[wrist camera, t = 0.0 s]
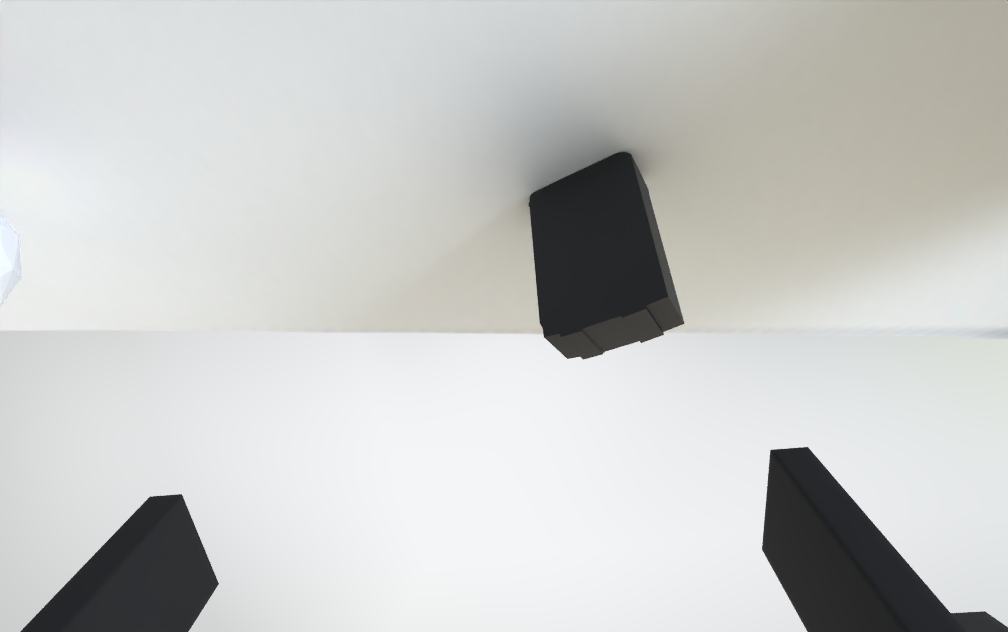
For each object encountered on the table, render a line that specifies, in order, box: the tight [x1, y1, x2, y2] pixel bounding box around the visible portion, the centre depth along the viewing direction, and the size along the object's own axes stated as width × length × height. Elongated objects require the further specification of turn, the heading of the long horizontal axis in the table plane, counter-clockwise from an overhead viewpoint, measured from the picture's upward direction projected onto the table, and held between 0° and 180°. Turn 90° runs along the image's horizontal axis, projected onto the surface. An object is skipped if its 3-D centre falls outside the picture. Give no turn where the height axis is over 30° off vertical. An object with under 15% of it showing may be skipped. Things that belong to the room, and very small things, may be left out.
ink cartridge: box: [529, 152, 684, 359], centre depth 22 cm, size 5×2×8 cm, turn 120°
